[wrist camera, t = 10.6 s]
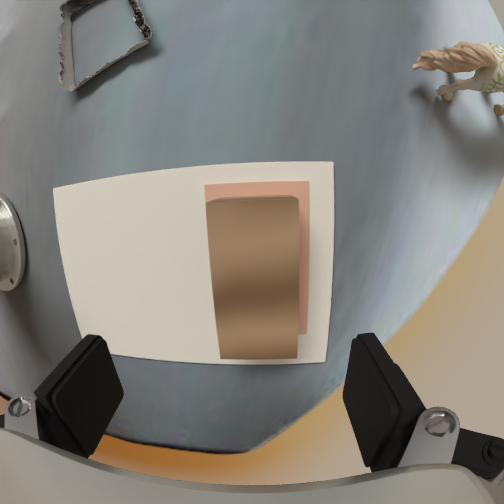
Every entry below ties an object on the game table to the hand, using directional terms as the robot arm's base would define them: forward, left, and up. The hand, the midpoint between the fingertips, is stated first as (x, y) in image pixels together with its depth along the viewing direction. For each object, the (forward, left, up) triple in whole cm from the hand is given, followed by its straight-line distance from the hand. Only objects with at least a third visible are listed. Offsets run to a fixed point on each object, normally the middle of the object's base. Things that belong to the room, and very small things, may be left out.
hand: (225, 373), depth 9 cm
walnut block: (+1, 0, -14) cm, 14 cm away
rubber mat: (-6, -1, -14) cm, 16 cm away
